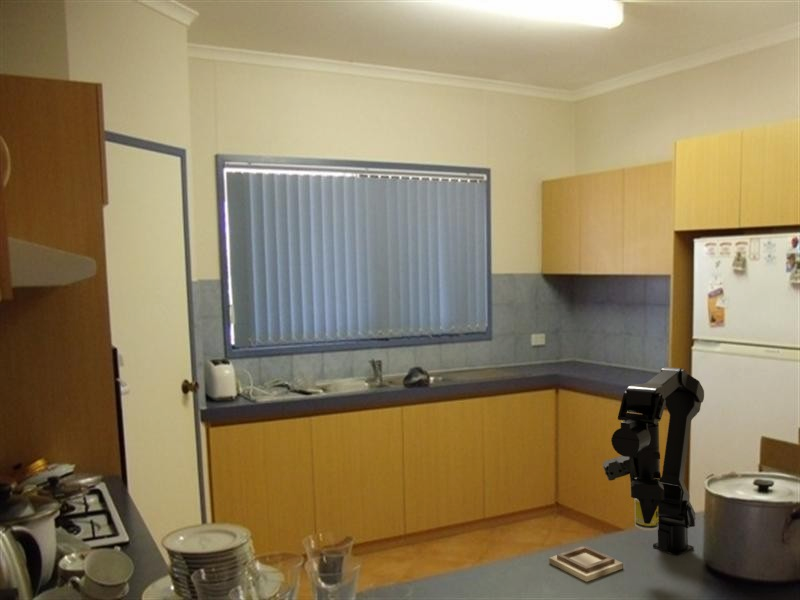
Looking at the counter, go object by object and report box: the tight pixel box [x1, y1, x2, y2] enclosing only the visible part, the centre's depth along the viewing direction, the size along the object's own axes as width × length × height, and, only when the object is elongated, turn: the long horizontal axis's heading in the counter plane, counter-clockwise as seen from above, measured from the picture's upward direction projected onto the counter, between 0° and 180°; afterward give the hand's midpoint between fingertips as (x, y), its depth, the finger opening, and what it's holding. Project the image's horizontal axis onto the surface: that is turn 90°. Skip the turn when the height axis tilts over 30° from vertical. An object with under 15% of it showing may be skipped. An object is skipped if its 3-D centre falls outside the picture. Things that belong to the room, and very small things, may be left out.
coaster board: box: [548, 545, 624, 583], centre depth 143 cm, size 11×11×2 cm
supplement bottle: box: [633, 498, 659, 531], centre depth 138 cm, size 5×5×8 cm
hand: (646, 518), depth 138 cm, fingers closed on supplement bottle, 5 cm apart
